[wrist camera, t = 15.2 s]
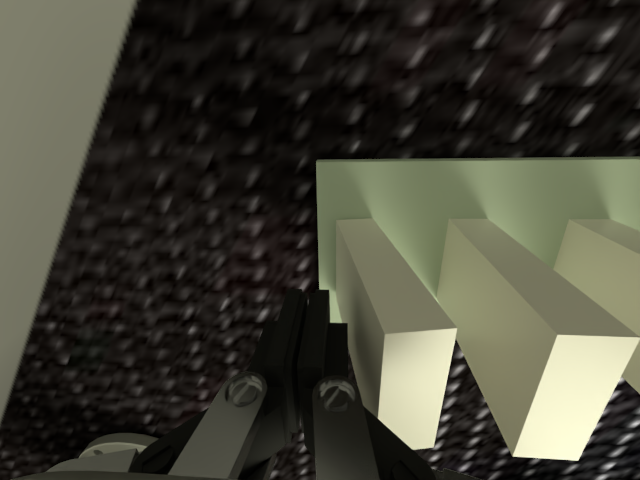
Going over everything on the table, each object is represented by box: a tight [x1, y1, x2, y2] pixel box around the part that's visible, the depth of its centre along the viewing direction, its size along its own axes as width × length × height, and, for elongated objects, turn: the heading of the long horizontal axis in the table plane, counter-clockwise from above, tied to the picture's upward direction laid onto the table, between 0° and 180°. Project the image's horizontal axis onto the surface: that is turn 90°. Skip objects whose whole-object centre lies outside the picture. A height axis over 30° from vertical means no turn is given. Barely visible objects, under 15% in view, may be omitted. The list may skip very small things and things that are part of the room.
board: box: [316, 157, 640, 323], centre depth 17 cm, size 28×11×1 cm, turn 91°
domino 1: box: [336, 218, 457, 450], centre depth 13 cm, size 2×5×9 cm, turn 1°
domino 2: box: [436, 219, 640, 461], centre depth 13 cm, size 2×5×9 cm, turn 1°
